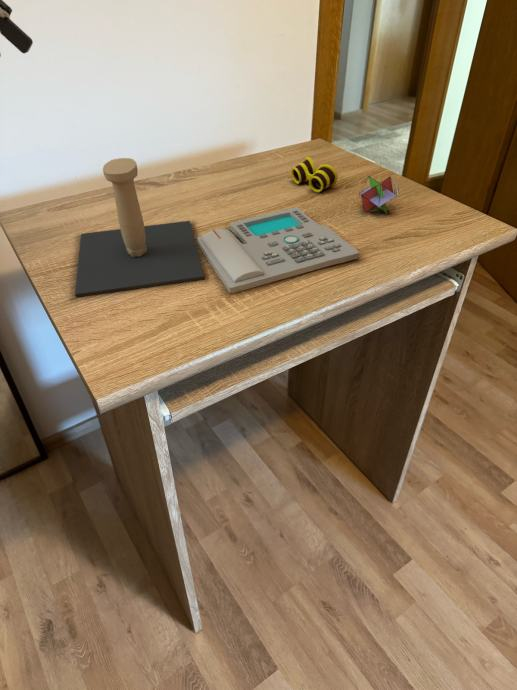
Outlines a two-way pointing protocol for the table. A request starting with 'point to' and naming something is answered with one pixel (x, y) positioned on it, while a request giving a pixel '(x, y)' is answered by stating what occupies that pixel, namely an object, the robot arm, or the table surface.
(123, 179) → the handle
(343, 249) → the office telephone
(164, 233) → the mat
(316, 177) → the opera glasses
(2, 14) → the robot arm
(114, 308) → the table surface
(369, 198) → the geometric puzzle
